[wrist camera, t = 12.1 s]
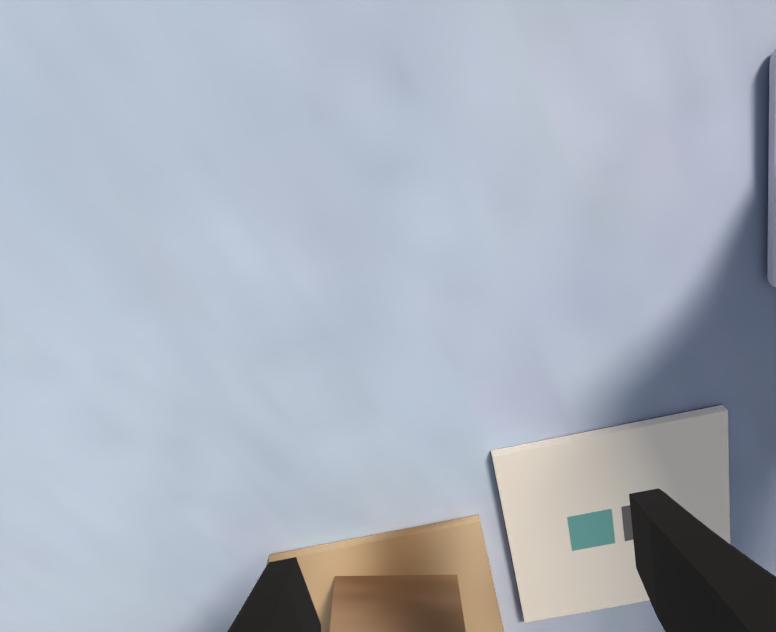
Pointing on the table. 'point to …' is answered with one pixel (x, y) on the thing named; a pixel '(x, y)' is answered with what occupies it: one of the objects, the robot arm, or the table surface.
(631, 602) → the card
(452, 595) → the walnut block
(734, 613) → the robot arm
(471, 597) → the cork mat
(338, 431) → the table surface
